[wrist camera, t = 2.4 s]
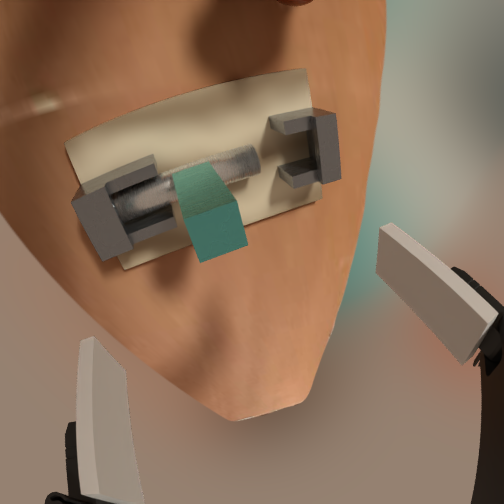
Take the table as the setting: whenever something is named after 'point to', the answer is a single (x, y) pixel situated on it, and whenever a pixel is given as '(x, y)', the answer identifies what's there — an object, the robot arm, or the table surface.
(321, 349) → the table surface
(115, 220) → the bracket
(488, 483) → the robot arm
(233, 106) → the board
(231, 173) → the teal and grey t-piece
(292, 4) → the mug
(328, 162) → the socket
